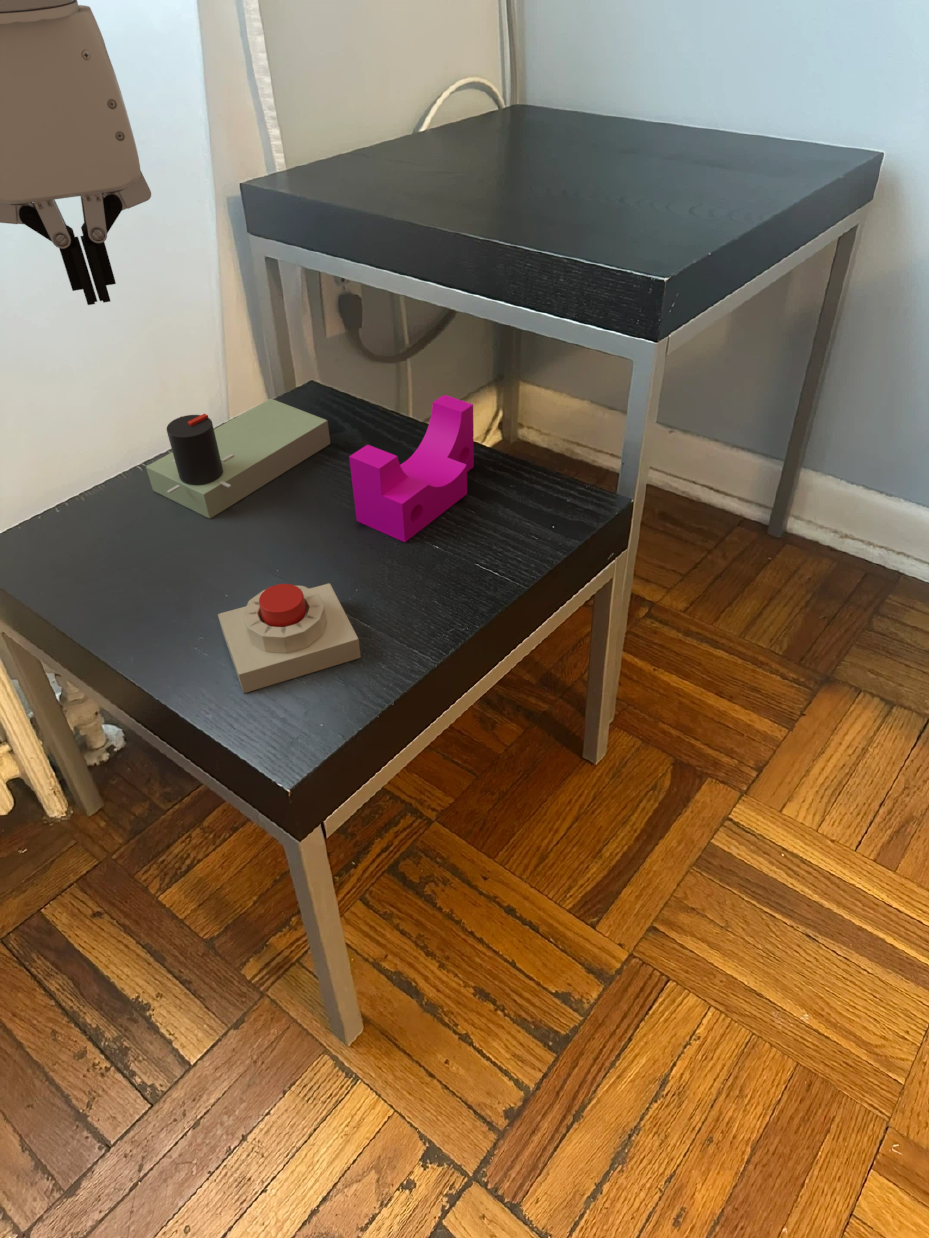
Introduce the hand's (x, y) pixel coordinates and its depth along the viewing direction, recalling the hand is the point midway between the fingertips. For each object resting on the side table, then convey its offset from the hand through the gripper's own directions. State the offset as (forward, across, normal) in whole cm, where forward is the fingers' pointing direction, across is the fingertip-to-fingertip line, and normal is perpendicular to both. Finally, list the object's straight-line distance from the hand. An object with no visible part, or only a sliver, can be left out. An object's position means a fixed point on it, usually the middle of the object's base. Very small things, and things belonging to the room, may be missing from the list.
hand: (97, 296), depth 63 cm
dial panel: (+27, -9, -17) cm, 33 cm away
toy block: (+27, -26, -4) cm, 38 cm away
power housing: (+27, -7, +12) cm, 30 cm away
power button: (+24, -7, +12) cm, 27 cm away
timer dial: (+24, -5, -14) cm, 28 cm away
